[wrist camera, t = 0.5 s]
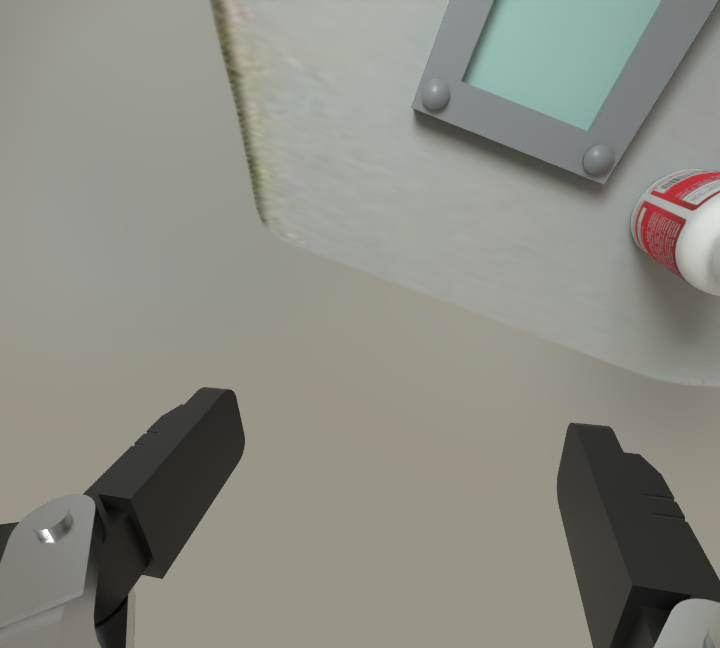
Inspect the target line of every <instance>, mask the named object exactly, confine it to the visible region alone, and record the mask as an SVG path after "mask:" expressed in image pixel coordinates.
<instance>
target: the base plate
mask: <svg viewBox="0 0 720 648" xmlns="http://www.w3.org/2000/svg"><path fill="white" fill-rule="evenodd" d="M717 2H718V0H450V1H449V4H448V6H447V9H446V12H445V15H444V17H443V20H442V23H441V26H440V29H439V31H438V34H437V37H436V40H435V42H434V45H433V48H432V51H431V53H430V56H429V59H428V62H427V65H426V67H425V70H424V73H423V76H422V78H421V81H420V84H419V87H418V89H417V92H416V95H415V98H414V101H413V103H412V106H411V108H413V109H416V110H418V111H421V112H423V113H426V114H428V115H431V116H433V117H436V118H438V119H441V120H443V121H446V122H448V123H451V124H453V125H456V126H458V127H461V128H463V129H466V130H468V131H471V132H473V133H476V134H478V135H481V136H483V137H486V138H488V139H491V140H493V141H496V142H498V143H501V144H503V145H506V146H508V147H511V148H513V149H516V150H518V151H521V152H523V153H526V154H528V155H531V156H533V157H536V158H538V159H541V160H543V161H546V162H548V163H551V164H553V165H556V166H558V167H561V168H563V169H566V170H568V171H571V172H573V173H576V174H578V175H581V176H583V177H586V178H588V179H591V180H593V181H596V182H598V183H601V184H603V185H604V184H605V182H606V181H607V179H608V177H609V176H610V174H611V173H612V171H613V169H614V168H615V166H616V165H617V163H618V161H619V160H620V158H621V157H622V155H623V153H624V152H625V150H626V148H627V147H628V145H629V144H630V142H631V140H632V139H633V137H634V136H635V134H636V132H637V131H638V129H639V127H640V126H641V124H642V123H643V121H644V119H645V118H646V116H647V115H648V113H649V111H650V110H651V108H652V107H653V105H654V103H655V102H656V100H657V98H658V97H659V95H660V94H661V92H662V90H663V89H664V87H665V86H666V84H667V82H668V81H669V79H670V78H671V76H672V74H673V73H674V71H675V69H676V68H677V66H678V65H679V63H680V61H681V60H682V58H683V57H684V55H685V53H686V52H687V50H688V49H689V47H690V45H691V44H692V42H693V40H694V39H695V37H696V36H697V34H698V32H699V31H700V29H701V28H702V26H703V24H704V23H705V21H706V20H707V18H708V16H709V15H710V13H711V11H712V10H713V8H714V7H715V5H716V3H717Z"/></svg>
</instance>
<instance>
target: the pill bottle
mask: <svg viewBox="0 0 720 648" xmlns="http://www.w3.org/2000/svg"><path fill="white" fill-rule="evenodd" d="M630 225H631V232H632V236H633V238H634V240H635V242H636V244H637V245H638V246H639V247H640V248H641V249H642V250H643V251H644V252H645V253H647V254H648V255H649V256H651V257H652V258H654V259H655V260H657V261H658V262H659V263H661V264H662V265H664V266H665V267H667V268H668V269H669V270H671V271H672V272H674V273H675V274H676V275H678V276H679V277H681V278H682V279H684V280H685V281H686V282H688V283H689V284H691V285H692V286H694V287H696V288H697V289H699V290H701V291H703V292H706V293H708V294H712V295H716V296H720V172H717V171H711V170H705V169H687V170H681V171H677V172H674V173H671V174H669V175H667V176H665V177H663V178H661V179H659V180H658V181H657V182H655V183H654V184H652V185H651V186H650V187H649V188H648V189H647V190H646V191H645V192H644V193H643V194H642V196H641V197H640V198H639V200H638V201H637V203H636V205H635V207H634V209H633V212H632V216H631V223H630Z"/></svg>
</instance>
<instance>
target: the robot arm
mask: <svg viewBox="0 0 720 648" xmlns="http://www.w3.org/2000/svg"><path fill="white" fill-rule="evenodd" d="M244 445H245V437H244V431H243V426H242V422H241V417H240V413H239V408H238V403H237V399H236V395H235V393H234V392H233V391H232V390H229V389H218V388H207V387H203V388H201V389H199V390H198V391H197V392H196V393H195V394H194V395H193V396H192V397H191V398H190V399H189V400H188V402H186V403H185V404H184V405H180V406H178V407H176V408H175V409H173V410H171V411H170V412H168V413H166V414H165V415H163V416H161V417H160V419H158V421H157V422H155V423H154V424H153V425H152V426H151V427H150V428H149V429H148V430H147V433H146V434H143V435H142V436H141V437H140V438H139V439H138V440H137V441H136V442H135V445H134V446H131V447H130V448H129V449H128V450H127V451H126V452H125V453H124V454H123V455H122V456H121V457H120V458H119V459H118V460H117V461H116V462H115V463H114V464H113V465H112V466H111V467H110V468H109V469H108V470H107V471H106V472H105V473H104V474H103V475H102V476H101V477H100V478H99V479H98V480H97V481H96V482H95V483H94V484H93V485H92V486H91V487H90V488H89V489H88V490H87V491H86V492H85V493H84V494H72V495H66V496H62V497H59V498H56V499H53V500H51V501H49V502H47V503H45V504H43V505H41V506H39V507H38V508H36V509H35V510H33V511H32V512H31V513H29V514H28V515H27V516H26V517H25V518H23V520H21V521H20V522H16V523H8V524H1V525H0V648H134V634H135V600H136V596H135V591H134V588H133V586H134V585H135V583H136V582H137V580H138V579H139V578H140V576H141V575H146V576H151V577H156V578H161V579H163V577H164V576H165V574H166V573H167V571H168V570H169V568H170V566H171V565H172V563H173V562H174V560H175V559H176V557H177V556H178V554H179V553H180V551H181V550H182V548H183V547H184V545H185V544H186V542H187V541H188V539H189V537H190V536H191V534H192V533H193V531H194V530H195V528H196V527H197V525H198V524H199V522H200V521H201V519H202V518H203V516H204V515H205V513H206V511H207V510H208V508H209V507H210V505H211V504H212V502H213V501H214V499H215V498H216V496H217V495H218V493H219V492H220V490H221V488H222V487H223V485H224V484H225V482H226V481H227V479H228V478H229V476H230V475H231V473H232V472H233V470H234V469H235V467H236V465H237V464H238V462H239V461H240V459H241V457H242V454H243V450H244ZM557 496H558V504H559V508H560V512H561V517H562V521H563V525H564V528H565V533H566V537H567V541H568V545H569V549H570V553H571V557H572V561H573V566H574V570H575V574H576V578H577V582H578V586H579V591H580V595H581V599H582V603H583V607H584V611H585V615H586V619H587V624H588V628H589V632H590V636H591V640H592V644H593V648H720V580H719V578H718V576H717V575H716V573H715V571H714V569H713V567H712V565H711V564H710V562H709V560H708V558H707V556H706V555H705V553H704V551H703V549H702V547H701V545H700V544H699V542H698V540H697V538H696V536H695V535H694V533H693V531H692V529H691V527H690V526H689V524H688V523H687V522H685V516H684V515H683V513H682V511H681V509H680V507H679V506H678V504H677V502H674V497H673V495H672V493H671V491H670V489H669V487H668V486H667V484H666V482H665V480H664V478H663V477H662V475H661V474H660V473H659V472H658V471H657V470H656V469H655V468H654V467H653V466H652V465H651V464H649V463H648V462H647V461H646V460H645V459H644V458H643V457H642V456H641V455H640V454H632V453H624V452H623V450H622V448H621V446H620V444H619V442H618V440H617V438H616V435H615V433H614V431H613V429H612V428H611V427H609V426H601V425H590V424H580V423H570V424H569V426H568V429H567V433H566V438H565V443H564V447H563V452H562V458H561V462H560V467H559V471H558V478H557Z"/></svg>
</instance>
